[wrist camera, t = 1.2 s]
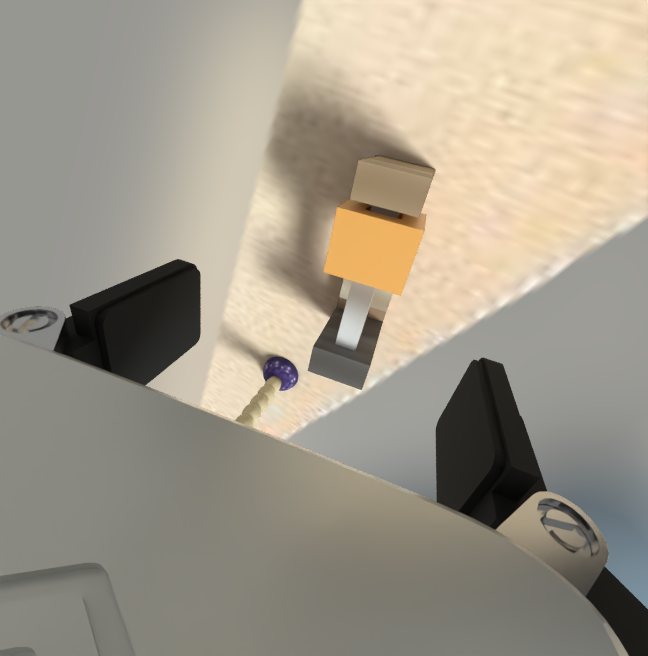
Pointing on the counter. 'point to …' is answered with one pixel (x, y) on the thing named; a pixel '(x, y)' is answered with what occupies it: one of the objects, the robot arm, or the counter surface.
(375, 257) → the sleeve
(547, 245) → the counter surface
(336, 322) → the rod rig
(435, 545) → the robot arm
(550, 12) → the counter surface
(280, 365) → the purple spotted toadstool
